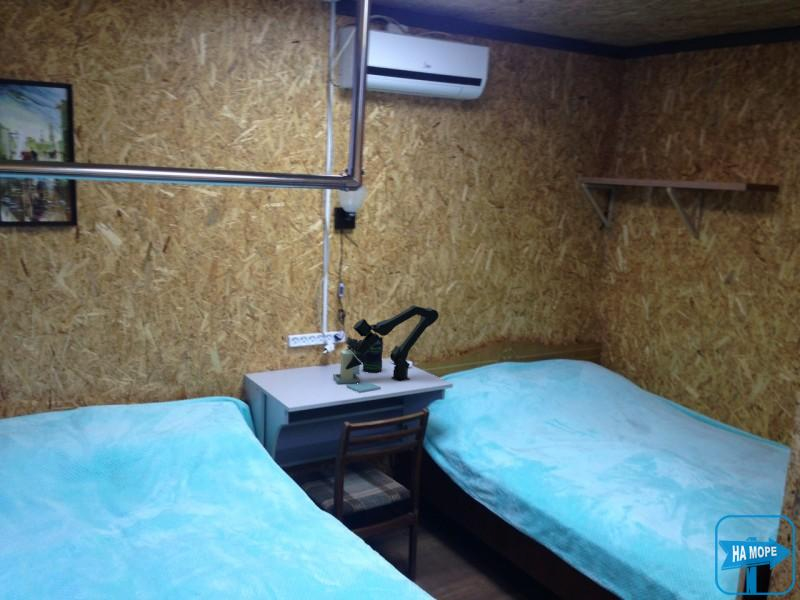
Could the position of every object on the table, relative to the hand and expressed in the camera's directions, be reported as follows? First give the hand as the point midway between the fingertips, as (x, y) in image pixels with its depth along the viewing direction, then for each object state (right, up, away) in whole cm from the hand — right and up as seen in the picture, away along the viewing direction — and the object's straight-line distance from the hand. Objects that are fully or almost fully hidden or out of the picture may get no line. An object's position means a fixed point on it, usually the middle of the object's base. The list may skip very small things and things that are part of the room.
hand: (343, 366), depth 322 cm
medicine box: (+2, -5, +16) cm, 17 cm away
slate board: (+10, -9, -9) cm, 16 cm away
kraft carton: (+1, -6, +1) cm, 7 cm away
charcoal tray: (+1, -7, +1) cm, 7 cm away
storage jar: (+12, -5, +22) cm, 26 cm away
